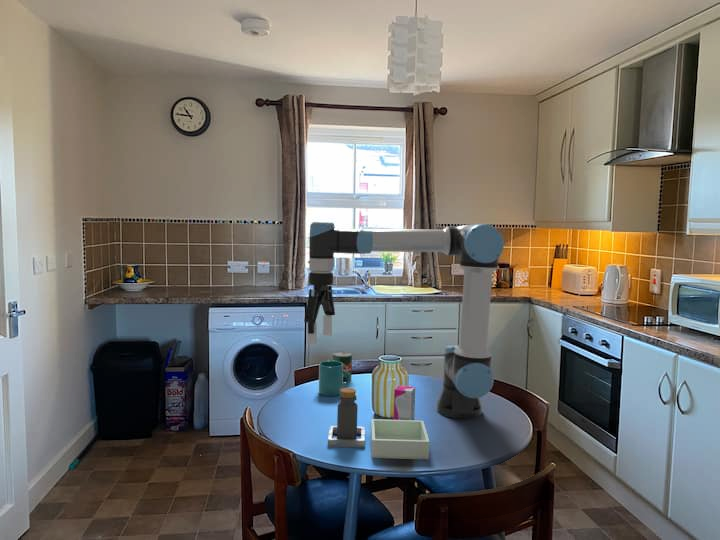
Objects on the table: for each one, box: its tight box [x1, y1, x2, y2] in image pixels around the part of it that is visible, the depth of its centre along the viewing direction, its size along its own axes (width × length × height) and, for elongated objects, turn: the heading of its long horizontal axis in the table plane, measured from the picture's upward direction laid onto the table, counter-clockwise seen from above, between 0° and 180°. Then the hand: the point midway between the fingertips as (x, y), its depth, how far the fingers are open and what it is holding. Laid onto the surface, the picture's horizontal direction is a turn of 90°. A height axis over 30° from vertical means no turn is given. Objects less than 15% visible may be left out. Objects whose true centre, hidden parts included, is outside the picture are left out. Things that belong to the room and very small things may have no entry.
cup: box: [318, 360, 352, 397], centre depth 199 cm, size 9×12×11 cm
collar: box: [327, 425, 366, 448], centre depth 156 cm, size 10×10×2 cm
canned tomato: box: [332, 350, 353, 382], centre depth 216 cm, size 8×8×11 cm
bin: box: [370, 418, 430, 460], centre depth 152 cm, size 16×16×5 cm
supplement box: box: [392, 385, 416, 420], centre depth 171 cm, size 6×6×12 cm
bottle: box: [336, 387, 358, 439], centre depth 156 cm, size 6×6×15 cm
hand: (319, 339), depth 166 cm, fingers open, 13 cm apart
